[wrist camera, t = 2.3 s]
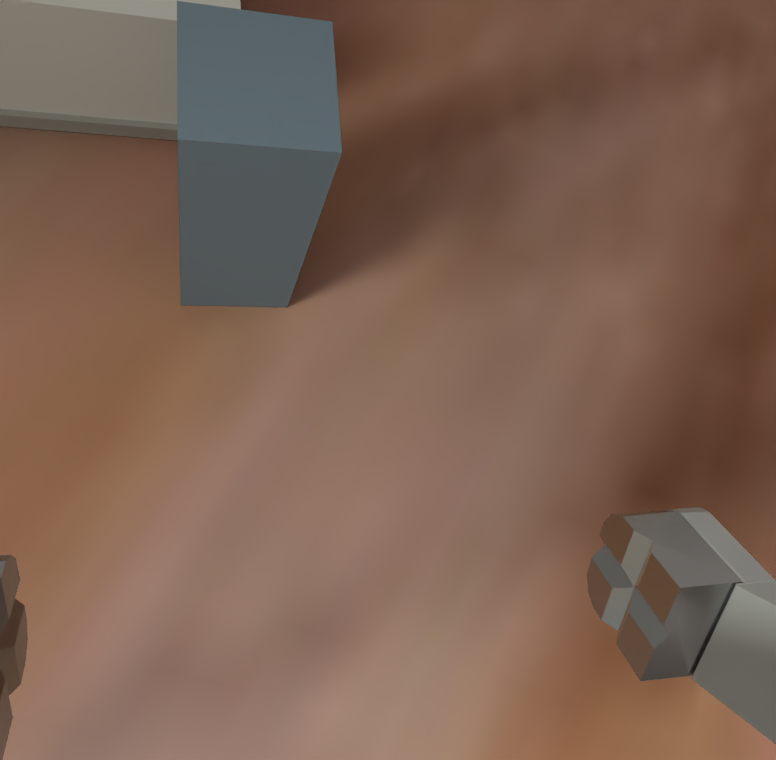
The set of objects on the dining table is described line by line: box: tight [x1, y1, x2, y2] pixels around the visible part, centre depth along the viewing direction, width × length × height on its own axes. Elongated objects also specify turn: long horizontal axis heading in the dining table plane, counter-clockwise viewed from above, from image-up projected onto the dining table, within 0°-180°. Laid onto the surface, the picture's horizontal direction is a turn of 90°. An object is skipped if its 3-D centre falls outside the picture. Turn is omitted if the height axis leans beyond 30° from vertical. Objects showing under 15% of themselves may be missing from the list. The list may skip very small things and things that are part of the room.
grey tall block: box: [177, 1, 342, 307], centre depth 26 cm, size 4×4×12 cm
